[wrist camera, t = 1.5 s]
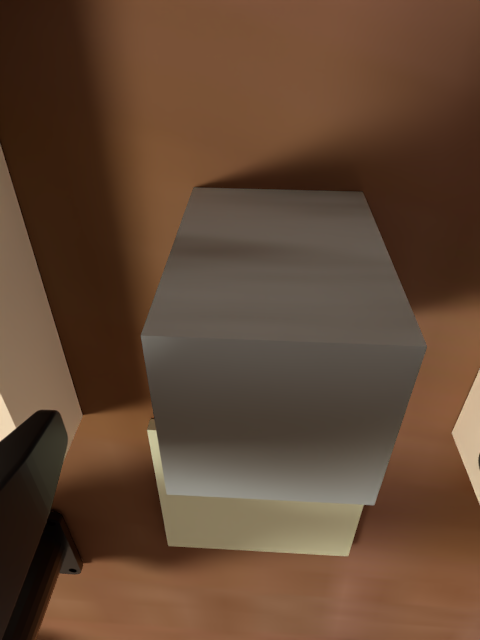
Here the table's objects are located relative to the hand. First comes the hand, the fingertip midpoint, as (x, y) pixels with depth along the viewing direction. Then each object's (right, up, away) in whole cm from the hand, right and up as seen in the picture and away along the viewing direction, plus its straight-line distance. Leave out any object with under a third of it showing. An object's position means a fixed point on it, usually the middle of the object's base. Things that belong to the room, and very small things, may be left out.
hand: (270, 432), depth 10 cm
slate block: (0, +4, +5) cm, 7 cm away
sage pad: (0, -6, +13) cm, 15 cm away
